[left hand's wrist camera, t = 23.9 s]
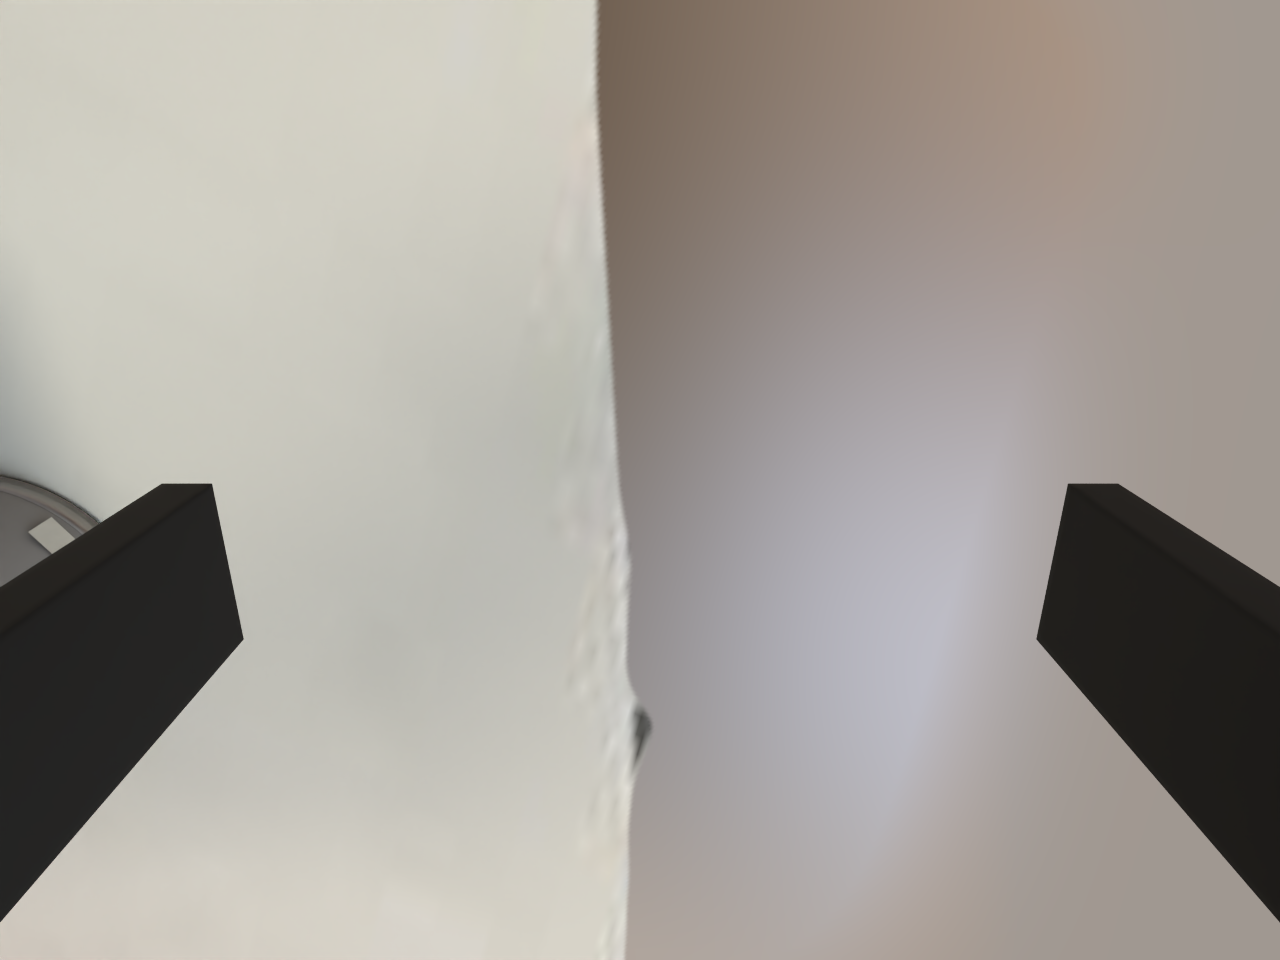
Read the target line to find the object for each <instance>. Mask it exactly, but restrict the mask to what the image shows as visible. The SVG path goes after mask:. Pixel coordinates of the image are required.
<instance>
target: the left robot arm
mask: <svg viewBox="0 0 1280 960" xmlns="http://www.w3.org/2000/svg"><path fill="white" fill-rule="evenodd" d="M242 640H243V634H242V629H241V624H240V619H239V614H238V609H237V605H236V600H235V595H234V590H233V585H232V580H231V575H230V570H229V565H228V560H227V555H226V550H225V546H224V541H223V536H222V531H221V526H220V521H219V516H218V511H217V506H216V501H215V496H214V492H213V487H212V484H161V485H159V486H158V487H156V488H154V489H153V490H151V491H150V492H148V493H147V494H145V495H143V496H142V497H140V498H139V499H137V500H136V501H134V502H133V503H131V504H129V505H128V506H126V507H125V508H123V509H122V510H120V511H118V512H117V513H115V514H114V515H112V516H111V517H109V518H108V519H106V520H104V521H103V522H101V523H100V524H99V523H98V522H96V521H95V520H94V519H93V518H91V517H90V516H89V515H88V514H86V513H85V512H84V511H82V510H81V509H79V508H78V507H76V506H75V505H73V504H72V503H70V502H68V501H66V500H65V499H63V498H61V497H59V496H57V495H55V494H53V493H51V492H49V491H47V490H45V489H42V488H39V487H37V486H34V485H32V484H29V483H25V482H22V481H19V480H15V479H10V478H6V477H1V476H0V922H1V921H2V920H3V918H4V917H5V916H6V915H7V914H8V913H9V911H10V910H11V909H12V908H13V907H14V906H15V904H16V903H17V902H18V901H19V900H20V899H21V897H22V896H23V895H24V894H25V893H26V892H27V890H28V889H29V888H30V887H31V886H32V885H33V883H34V882H35V881H36V880H37V879H38V878H39V877H40V875H41V874H42V873H43V872H44V871H45V870H46V868H47V867H48V866H49V865H50V864H51V863H52V861H53V860H54V859H55V858H56V857H57V856H58V854H59V853H60V852H61V851H62V850H63V849H64V847H65V846H66V845H67V844H68V843H69V842H70V840H71V839H72V838H73V837H74V836H75V835H76V833H77V832H78V831H79V830H80V829H81V828H82V827H83V825H84V824H85V823H86V822H87V821H88V820H89V818H90V817H91V816H92V815H93V814H94V813H95V811H96V810H97V809H98V808H99V807H100V806H101V804H102V803H103V802H104V801H105V800H106V799H107V797H108V796H109V795H110V794H111V793H112V792H113V790H114V789H115V788H116V787H117V786H118V785H119V783H120V782H121V781H122V780H123V779H124V778H125V776H126V775H127V774H128V773H129V772H130V771H131V770H132V768H133V767H134V766H135V765H136V764H137V763H138V761H139V760H140V759H141V758H142V757H143V756H144V754H145V753H146V752H147V751H148V750H149V749H150V747H151V746H152V745H153V744H154V743H155V742H156V740H157V739H158V738H159V737H160V736H161V735H162V733H163V732H164V731H165V730H166V729H167V728H168V726H169V725H170V724H171V723H172V722H173V721H174V720H175V718H176V717H177V716H178V715H179V714H180V713H181V711H182V710H183V709H184V708H185V707H186V706H187V704H188V703H189V702H190V701H191V700H192V699H193V697H194V696H195V695H196V694H197V693H198V692H199V690H200V689H201V688H202V687H203V686H204V685H205V683H206V682H207V681H208V680H209V679H210V678H211V676H212V675H213V674H214V673H215V672H216V671H217V670H218V668H219V667H220V666H221V665H222V664H223V663H224V661H225V660H226V659H227V658H228V657H229V656H230V654H231V653H232V652H233V651H234V650H235V649H236V647H237V646H238V645H239V644H240V643H241V642H242ZM1037 640H1038V642H1039V643H1040V644H1041V645H1042V646H1043V647H1044V649H1045V650H1046V651H1047V652H1048V653H1049V654H1050V656H1051V657H1052V658H1053V659H1054V660H1055V661H1056V663H1057V664H1058V665H1059V666H1060V667H1061V668H1062V669H1063V671H1064V672H1065V673H1066V674H1067V675H1068V676H1069V678H1070V679H1071V680H1072V681H1073V682H1074V683H1075V685H1076V686H1077V687H1078V688H1079V689H1080V690H1081V692H1082V693H1083V694H1084V695H1085V696H1086V697H1087V699H1088V700H1089V701H1090V702H1091V703H1092V704H1093V706H1094V707H1095V708H1096V709H1097V710H1098V711H1099V713H1100V714H1101V715H1102V716H1103V717H1104V718H1105V719H1106V721H1107V722H1108V723H1109V724H1110V725H1111V726H1112V728H1113V729H1114V730H1115V731H1116V732H1117V733H1118V735H1119V736H1120V737H1121V738H1122V739H1123V740H1124V742H1125V743H1126V744H1127V745H1128V746H1129V747H1130V749H1131V750H1132V751H1133V752H1134V753H1135V754H1136V756H1137V757H1138V758H1139V759H1140V760H1141V761H1142V763H1143V764H1144V765H1145V766H1146V767H1147V768H1148V770H1149V771H1150V772H1151V773H1152V774H1153V775H1154V776H1155V778H1156V779H1157V780H1158V781H1159V782H1160V783H1161V785H1162V786H1163V787H1164V788H1165V789H1166V790H1167V792H1168V793H1169V794H1170V795H1171V796H1172V797H1173V799H1174V800H1175V801H1176V802H1177V803H1178V804H1179V806H1180V807H1181V808H1182V809H1183V810H1184V811H1185V812H1186V814H1187V815H1188V816H1189V817H1190V818H1191V820H1192V821H1193V822H1194V823H1195V824H1196V825H1197V827H1198V828H1199V829H1200V830H1201V831H1202V832H1203V833H1204V835H1205V836H1206V837H1207V838H1208V839H1209V840H1210V842H1211V843H1212V844H1213V845H1214V846H1215V847H1216V849H1217V850H1218V851H1219V852H1220V853H1221V854H1222V856H1223V857H1224V858H1225V859H1226V860H1227V861H1228V863H1229V864H1230V865H1231V866H1232V867H1233V868H1234V870H1235V871H1236V872H1237V873H1238V874H1239V875H1240V877H1241V878H1242V879H1243V880H1244V881H1245V882H1246V883H1247V885H1248V886H1249V887H1250V888H1251V889H1252V890H1253V892H1254V893H1255V894H1256V895H1257V896H1258V897H1259V899H1260V900H1261V901H1262V902H1263V903H1264V904H1265V906H1266V907H1267V908H1268V909H1269V910H1270V911H1271V913H1272V914H1273V915H1274V916H1275V917H1276V918H1277V919H1278V921H1279V922H1280V587H1279V586H1277V585H1276V584H1274V583H1273V582H1271V581H1269V580H1268V579H1266V578H1265V577H1263V576H1262V575H1260V574H1259V573H1257V572H1255V571H1254V570H1252V569H1251V568H1249V567H1248V566H1246V565H1244V564H1243V563H1241V562H1240V561H1238V560H1237V559H1235V558H1234V557H1232V556H1230V555H1229V554H1227V553H1226V552H1224V551H1223V550H1221V549H1219V548H1218V547H1216V546H1215V545H1213V544H1212V543H1210V542H1208V541H1207V540H1205V539H1204V538H1202V537H1201V536H1199V535H1198V534H1196V533H1194V532H1193V531H1191V530H1190V529H1188V528H1187V527H1185V526H1183V525H1182V524H1180V523H1179V522H1177V521H1176V520H1174V519H1172V518H1171V517H1169V516H1168V515H1166V514H1165V513H1163V512H1162V511H1160V510H1158V509H1157V508H1155V507H1154V506H1152V505H1151V504H1149V503H1147V502H1146V501H1144V500H1143V499H1141V498H1140V497H1138V496H1136V495H1135V494H1133V493H1132V492H1130V491H1129V490H1127V489H1126V488H1124V487H1122V486H1121V485H1119V484H1068V487H1067V492H1066V496H1065V501H1064V506H1063V511H1062V516H1061V521H1060V526H1059V531H1058V536H1057V541H1056V546H1055V550H1054V556H1053V560H1052V565H1051V570H1050V575H1049V580H1048V585H1047V590H1046V595H1045V600H1044V605H1043V609H1042V614H1041V619H1040V624H1039V629H1038V634H1037Z"/></svg>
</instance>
